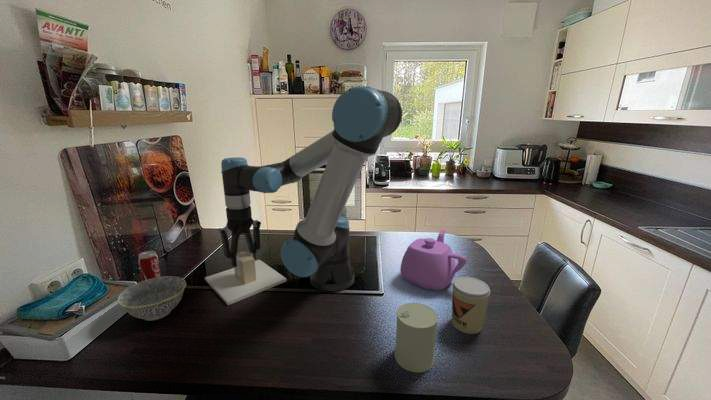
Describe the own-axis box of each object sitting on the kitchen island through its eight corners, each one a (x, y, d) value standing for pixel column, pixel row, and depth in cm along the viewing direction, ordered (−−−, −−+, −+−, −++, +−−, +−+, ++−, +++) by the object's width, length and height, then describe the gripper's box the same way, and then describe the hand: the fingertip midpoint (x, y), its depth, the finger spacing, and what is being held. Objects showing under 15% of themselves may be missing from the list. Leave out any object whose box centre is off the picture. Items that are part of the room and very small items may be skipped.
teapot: (455, 303, 90) (459, 258, 86) (393, 282, 102) (395, 241, 98) (474, 273, 108) (479, 234, 104) (420, 258, 120) (423, 222, 116)
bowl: (174, 291, 96) (171, 270, 94) (200, 309, 87) (196, 286, 85) (114, 317, 83) (108, 293, 81) (136, 341, 74) (130, 314, 72)
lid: (286, 281, 102) (285, 257, 100) (227, 305, 89) (224, 278, 86) (259, 261, 116) (257, 240, 114) (205, 280, 103) (201, 256, 100)
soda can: (153, 292, 95) (146, 257, 92) (139, 290, 96) (132, 256, 93) (166, 283, 100) (160, 250, 97) (153, 282, 101) (147, 249, 98)
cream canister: (441, 318, 83) (445, 280, 80) (467, 310, 87) (471, 273, 84) (465, 340, 75) (470, 298, 72) (493, 330, 79) (499, 290, 76)
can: (390, 343, 74) (392, 301, 71) (427, 341, 75) (430, 299, 72) (399, 374, 65) (401, 327, 62) (440, 371, 66) (444, 325, 63)
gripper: (258, 199, 104) (263, 260, 110) (206, 208, 92) (215, 276, 98) (268, 203, 99) (273, 267, 105) (215, 214, 87) (223, 285, 93)
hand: (244, 271), depth 102 cm, fingers closed on lid, 4 cm apart
